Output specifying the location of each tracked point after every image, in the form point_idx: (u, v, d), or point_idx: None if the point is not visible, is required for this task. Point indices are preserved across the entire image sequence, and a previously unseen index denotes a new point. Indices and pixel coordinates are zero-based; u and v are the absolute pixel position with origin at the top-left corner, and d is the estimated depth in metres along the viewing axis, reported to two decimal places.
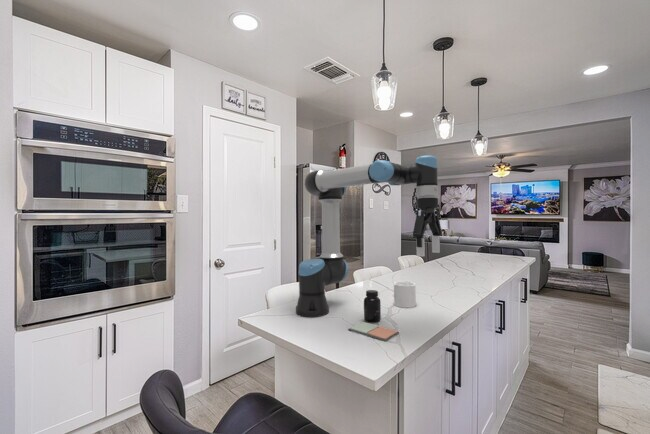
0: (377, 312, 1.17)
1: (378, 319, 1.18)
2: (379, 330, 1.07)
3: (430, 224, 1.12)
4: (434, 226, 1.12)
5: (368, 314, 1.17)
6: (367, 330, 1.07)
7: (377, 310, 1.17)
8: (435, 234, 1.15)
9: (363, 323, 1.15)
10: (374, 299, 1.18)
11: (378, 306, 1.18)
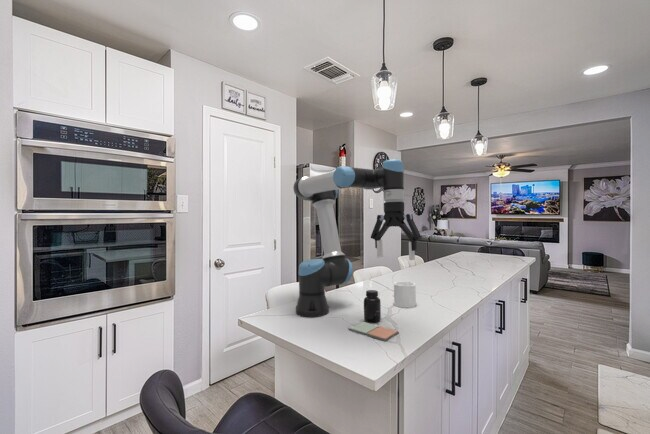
0: (377, 312, 1.17)
1: (378, 319, 1.18)
2: (379, 330, 1.07)
3: None
4: None
5: (368, 314, 1.17)
6: (367, 330, 1.07)
7: (377, 310, 1.17)
8: None
9: (363, 323, 1.15)
10: (374, 299, 1.18)
11: (378, 306, 1.18)
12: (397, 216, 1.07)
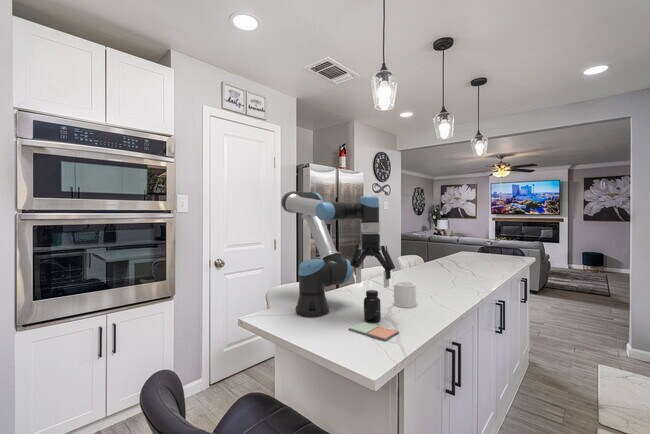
0: (377, 312, 1.17)
1: (378, 319, 1.18)
2: (379, 330, 1.07)
3: None
4: None
5: (368, 314, 1.17)
6: (367, 330, 1.07)
7: (377, 310, 1.17)
8: None
9: (363, 323, 1.15)
10: (374, 299, 1.18)
11: (378, 306, 1.18)
12: (373, 247, 1.18)
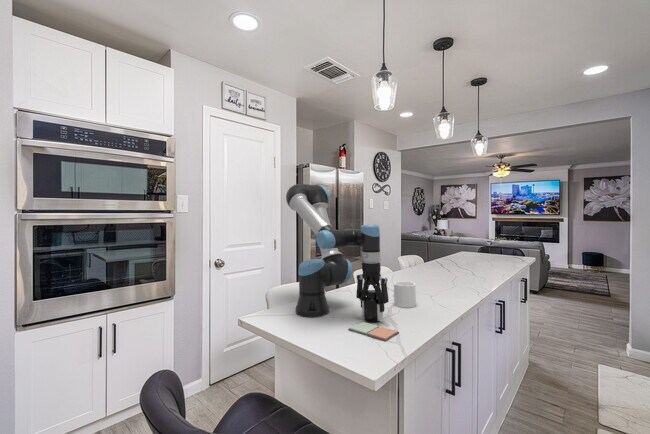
0: None
1: None
2: (379, 330, 1.07)
3: None
4: None
5: (368, 314, 1.17)
6: (367, 330, 1.07)
7: None
8: None
9: (363, 323, 1.15)
10: (374, 299, 1.18)
11: None
12: (374, 275, 1.18)
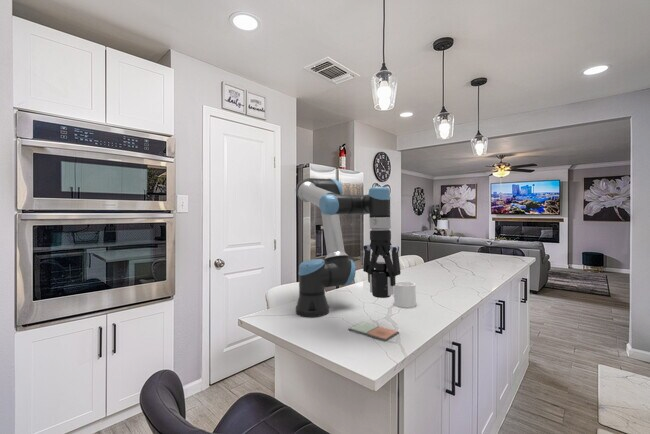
0: None
1: None
2: (379, 330, 1.07)
3: None
4: None
5: (377, 288, 1.03)
6: (367, 330, 1.07)
7: (387, 283, 1.03)
8: None
9: (363, 323, 1.15)
10: (384, 271, 1.03)
11: None
12: (384, 244, 1.04)
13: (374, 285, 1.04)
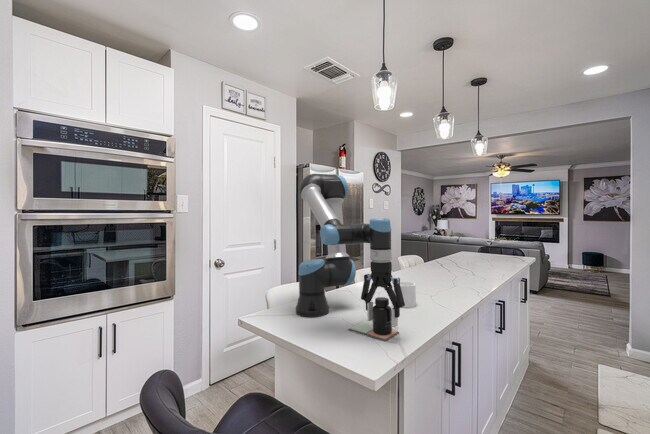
0: (388, 323, 1.03)
1: (389, 331, 1.03)
2: None
3: None
4: None
5: (378, 325, 1.03)
6: (367, 330, 1.07)
7: (388, 321, 1.03)
8: None
9: (363, 323, 1.15)
10: (385, 308, 1.03)
11: (389, 316, 1.03)
12: (384, 277, 1.03)
13: (375, 322, 1.04)
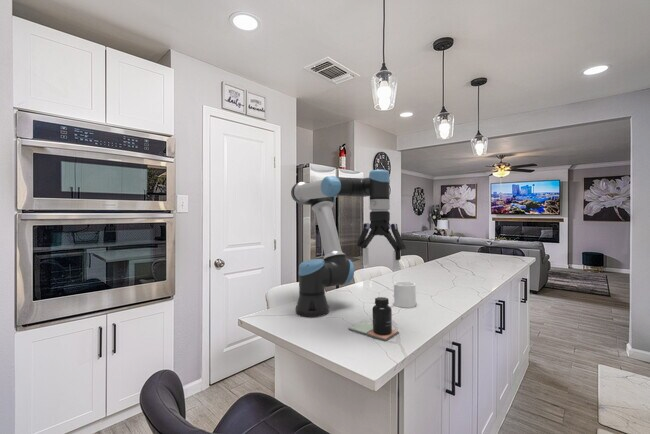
0: (388, 323, 1.03)
1: (389, 331, 1.03)
2: None
3: None
4: None
5: (378, 325, 1.03)
6: (367, 330, 1.07)
7: (388, 320, 1.03)
8: None
9: (363, 323, 1.15)
10: (384, 308, 1.03)
11: (389, 316, 1.03)
12: (382, 225, 1.09)
13: (375, 322, 1.04)
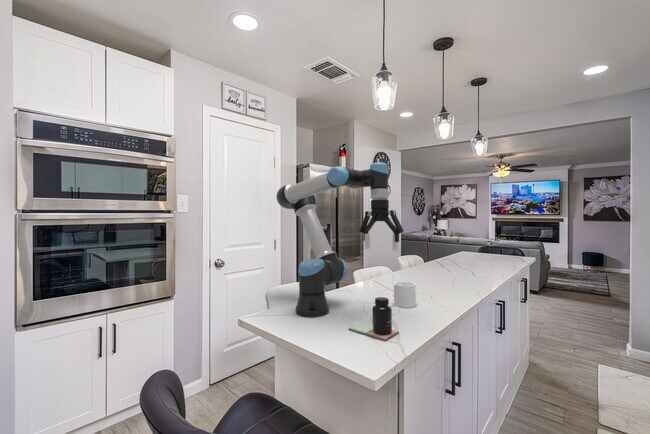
0: (388, 323, 1.03)
1: (389, 331, 1.03)
2: None
3: None
4: None
5: (378, 325, 1.03)
6: (367, 330, 1.07)
7: (388, 320, 1.03)
8: None
9: (363, 323, 1.15)
10: (384, 308, 1.03)
11: (389, 316, 1.03)
12: (382, 212, 1.22)
13: (375, 322, 1.04)
